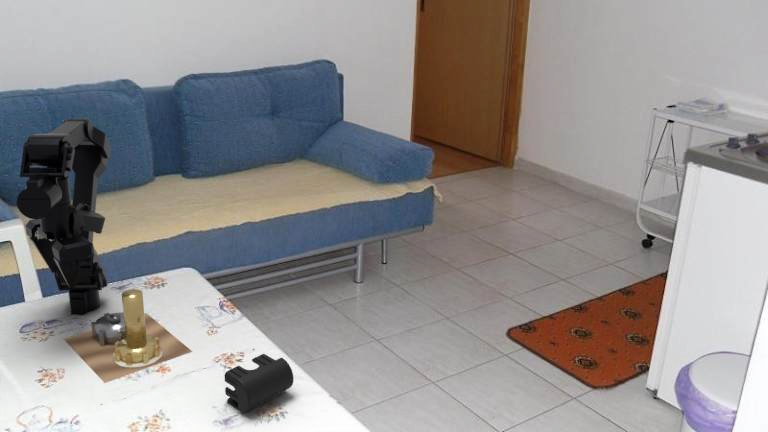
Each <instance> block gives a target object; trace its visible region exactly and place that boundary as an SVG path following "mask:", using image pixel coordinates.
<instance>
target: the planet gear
mask: <svg viewBox="0 0 768 432" xmlns="http://www.w3.org/2000/svg"><path fill="white" fill-rule="evenodd" d="M143 295H144V294H143V291H142V290H141V289H137V288H136V289H135V288H134V289H132V288H131V289H127V290H125V291H123V292H122V293H121V300H122V302H121V303H122V309H123V310H122V311H123V312H122V313H124V323H125V333H126V338H125V339H123V340H121V341H117V342H116V343H115V350H114V353H115V360H116V361H122V362H125V363H126V365H132V364H137V363H144V364H146V363H149V360H151V359H152V358H154V357H158V356H159V355H160V350H159V348H160V345H159V338H158V337H155V338H153V337H151V336H148V334H146V326H145V315H144V314H145V308H144V307H145V305H144V296H143Z"/></svg>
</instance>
